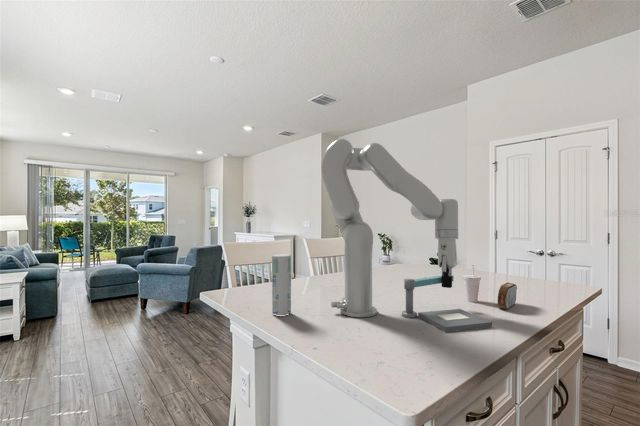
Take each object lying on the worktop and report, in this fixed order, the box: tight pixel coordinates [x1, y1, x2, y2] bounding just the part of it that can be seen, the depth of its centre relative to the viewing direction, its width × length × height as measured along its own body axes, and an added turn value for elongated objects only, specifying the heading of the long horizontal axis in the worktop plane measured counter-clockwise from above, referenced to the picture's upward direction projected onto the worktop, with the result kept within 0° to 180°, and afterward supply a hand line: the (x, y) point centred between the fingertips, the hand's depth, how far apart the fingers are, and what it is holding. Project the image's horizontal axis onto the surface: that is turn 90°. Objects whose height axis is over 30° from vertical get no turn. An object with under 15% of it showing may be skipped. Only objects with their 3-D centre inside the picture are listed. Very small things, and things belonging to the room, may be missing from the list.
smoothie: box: [462, 264, 482, 303], centre depth 122 cm, size 6×6×14 cm
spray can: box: [271, 253, 292, 315], centre depth 107 cm, size 6×6×20 cm
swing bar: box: [403, 274, 455, 291], centre depth 109 cm, size 23×3×3 cm, turn 120°
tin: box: [497, 282, 518, 310], centre depth 114 cm, size 15×3×8 cm, turn 134°
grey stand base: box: [401, 289, 493, 333], centre depth 100 cm, size 20×18×9 cm
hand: (446, 287), depth 109 cm, fingers closed
